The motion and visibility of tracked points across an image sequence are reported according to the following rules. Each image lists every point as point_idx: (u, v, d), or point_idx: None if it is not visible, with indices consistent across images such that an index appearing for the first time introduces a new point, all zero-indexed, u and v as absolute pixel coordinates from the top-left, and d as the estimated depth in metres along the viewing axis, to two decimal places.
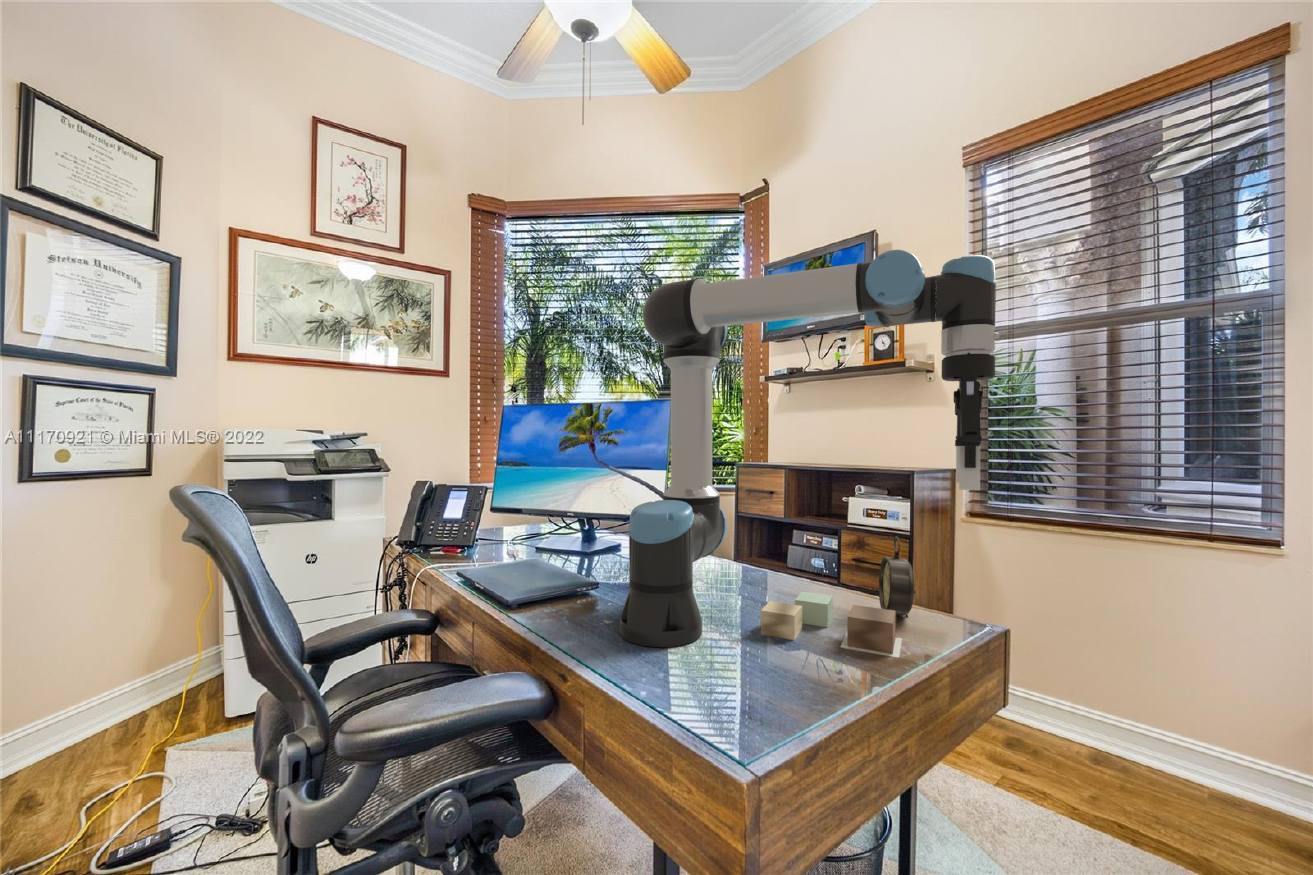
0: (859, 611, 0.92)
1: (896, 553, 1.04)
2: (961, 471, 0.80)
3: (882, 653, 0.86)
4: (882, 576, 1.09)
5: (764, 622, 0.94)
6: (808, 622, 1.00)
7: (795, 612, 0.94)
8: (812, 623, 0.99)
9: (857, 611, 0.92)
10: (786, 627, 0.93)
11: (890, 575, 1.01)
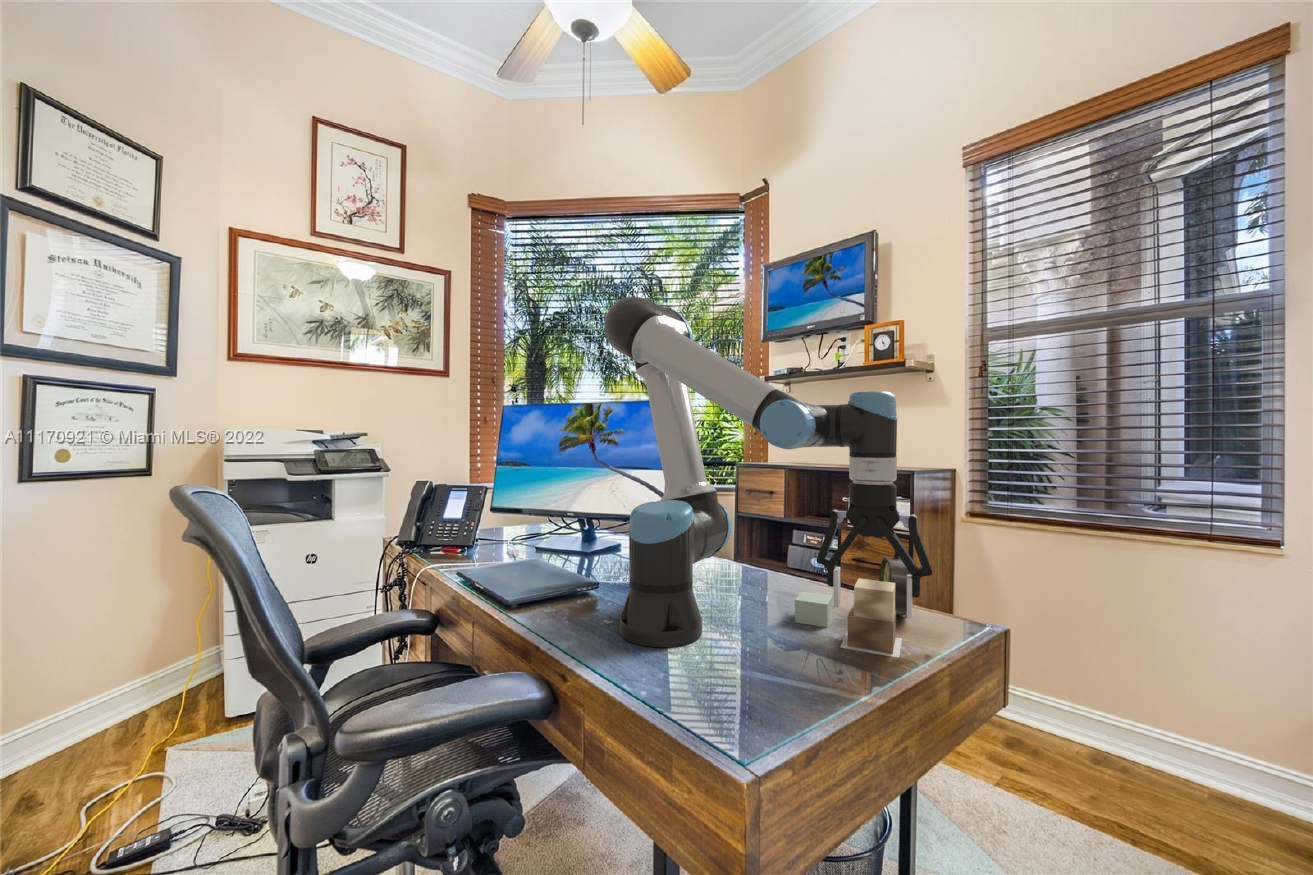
0: None
1: (896, 553, 1.04)
2: None
3: (882, 653, 0.86)
4: (882, 576, 1.09)
5: (858, 599, 0.89)
6: (808, 622, 1.00)
7: (892, 589, 0.88)
8: (812, 623, 0.99)
9: None
10: (883, 604, 0.87)
11: (890, 575, 1.01)
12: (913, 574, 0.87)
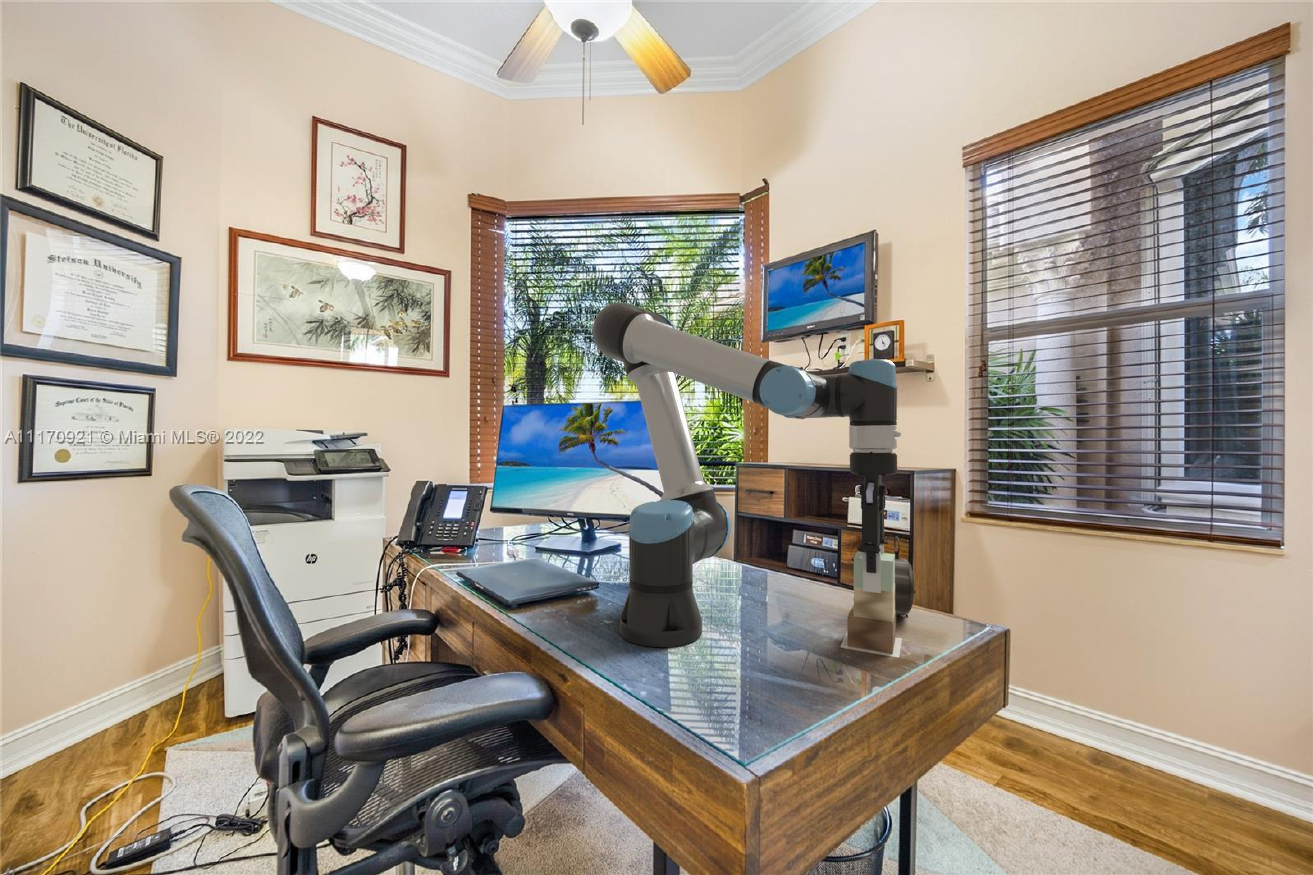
0: None
1: (896, 553, 1.04)
2: (864, 574, 0.88)
3: (882, 653, 0.86)
4: None
5: (858, 599, 0.89)
6: None
7: None
8: None
9: None
10: (883, 604, 0.87)
11: None
12: (883, 540, 0.94)
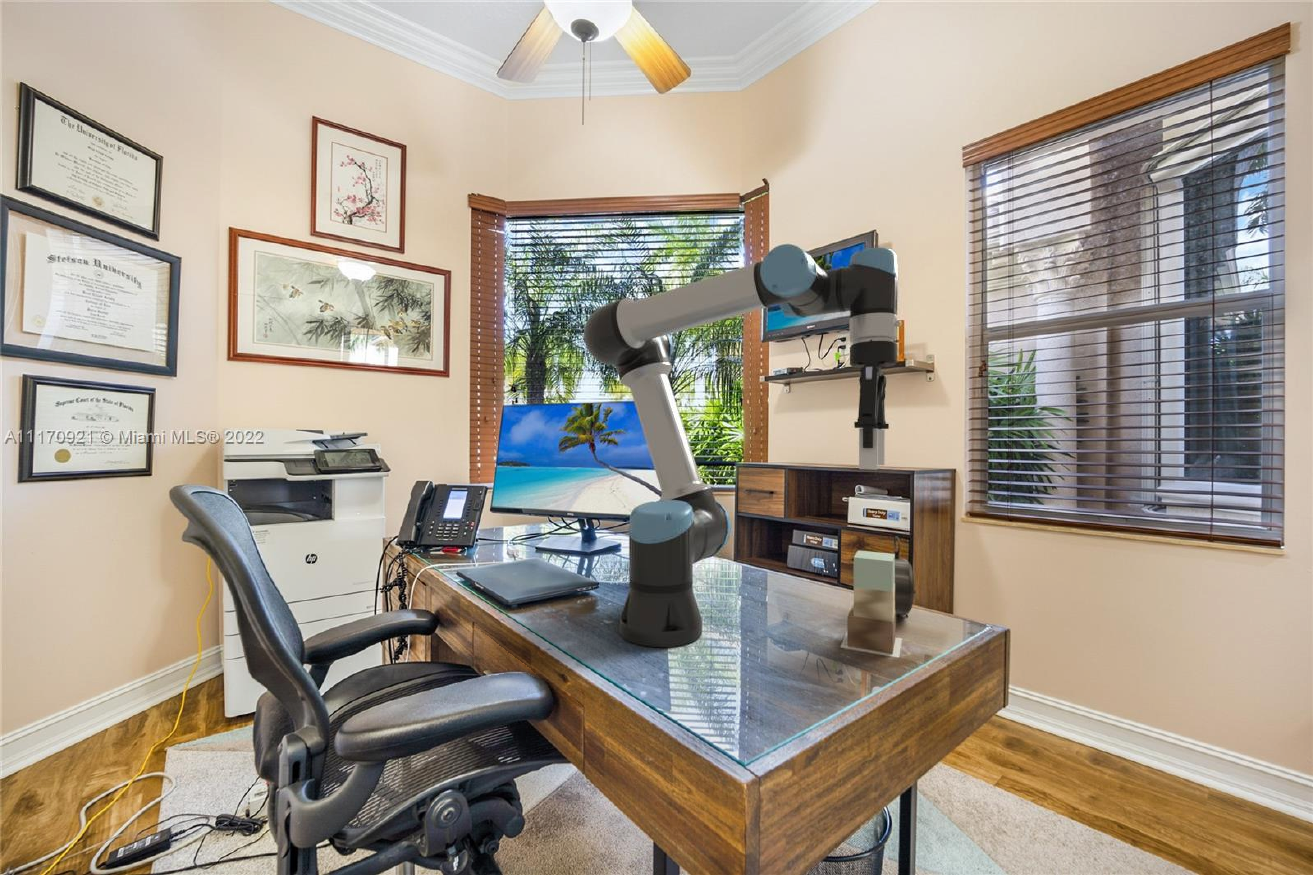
0: None
1: (896, 553, 1.04)
2: (861, 451, 0.85)
3: (882, 653, 0.86)
4: None
5: (858, 599, 0.89)
6: (869, 582, 0.88)
7: None
8: (874, 583, 0.88)
9: None
10: (883, 604, 0.87)
11: None
12: (884, 425, 0.97)
